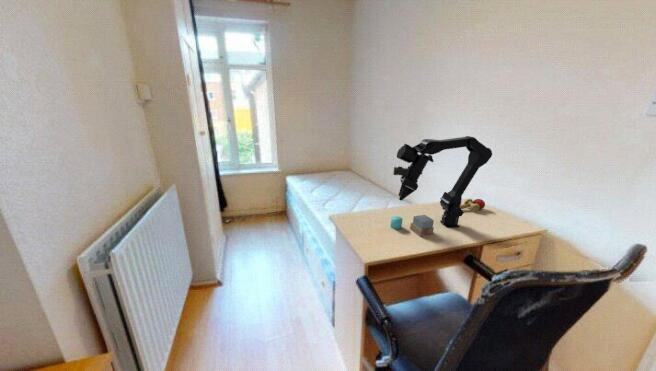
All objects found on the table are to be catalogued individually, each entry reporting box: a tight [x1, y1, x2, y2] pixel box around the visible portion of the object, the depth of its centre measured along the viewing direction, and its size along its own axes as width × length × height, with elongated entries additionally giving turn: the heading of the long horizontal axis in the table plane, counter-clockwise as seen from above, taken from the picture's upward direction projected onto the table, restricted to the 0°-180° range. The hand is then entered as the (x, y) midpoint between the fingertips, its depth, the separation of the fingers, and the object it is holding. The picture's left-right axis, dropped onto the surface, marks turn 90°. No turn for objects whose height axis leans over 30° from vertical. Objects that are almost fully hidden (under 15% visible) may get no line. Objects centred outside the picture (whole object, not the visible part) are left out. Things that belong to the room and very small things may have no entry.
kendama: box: [460, 198, 486, 213], centre depth 139 cm, size 8×6×18 cm
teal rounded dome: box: [390, 215, 403, 231], centre depth 118 cm, size 5×5×4 cm
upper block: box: [412, 214, 435, 229], centre depth 114 cm, size 6×6×4 cm
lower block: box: [409, 222, 435, 237], centre depth 115 cm, size 7×7×4 cm
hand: (399, 197), depth 114 cm, fingers open, 9 cm apart
